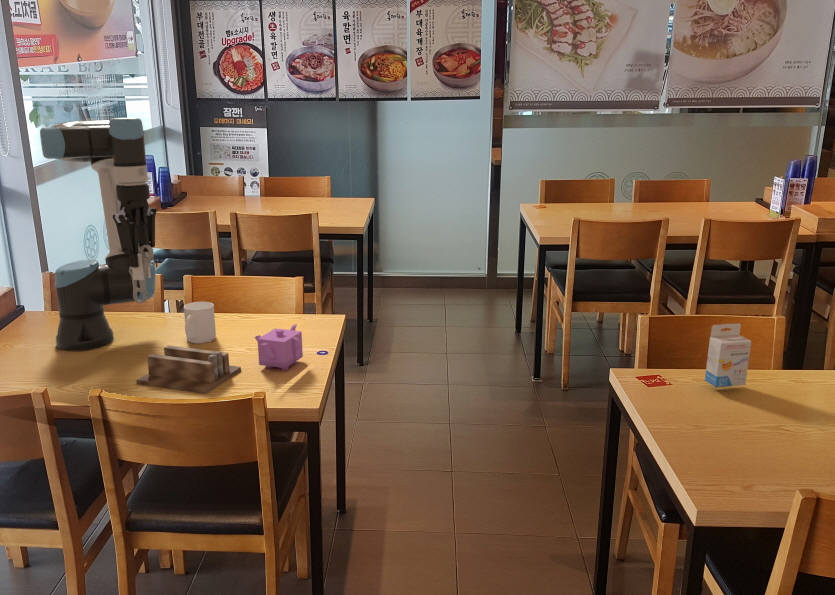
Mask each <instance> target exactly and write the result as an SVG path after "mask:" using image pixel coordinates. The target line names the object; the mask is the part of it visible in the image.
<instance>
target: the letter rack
mask: <svg viewBox="0 0 835 595" xmlns="http://www.w3.org/2000/svg"><path fill="white" fill-rule="evenodd" d="M163 352H164V355H161V354H154V353H151V354H149V355H147V356H146V358H147V359H146V360H147V369H148V372H147V373H146V374H144V375H142V376H140V377H138V378H137V379H136V380H135V381H136V382H135V384H138V385H143V386H144V385H145V386H152V387H156V388H157V387H158V388H165V389H171V390H178V391H185V392H193V393H197V394H198V393H199V394H207V393H209V392H211V391H212V390H214V389H215V388H217V387H218V386H220V385H221V384H223V383H224V382H226V381H227V380H229V379H230V378H232V377H233V376H235V375H237V374H238V373H239V372H241V371H242V368H241V366H238V365H237V366H236V365H230V358H229V352H224V351H223V352H222V351H215V350H208V349H207V350H206V349H202V348H201V349H199V348H191V347H182V346H175V345H166V346H164V347H163Z"/></svg>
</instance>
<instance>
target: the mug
mask: <svg viewBox="0 0 835 595" xmlns="http://www.w3.org/2000/svg"><path fill="white" fill-rule="evenodd" d="M183 311H184V314H183V315H184V332H185V336H186V337H185V338H186V340H187V341H188V343H191V344H195V345H196V344H197V345H198V344H199V345H200V344H207V343H211V342H213V341H214V340H215V339H216V338H217V336H216V335H217V333H216V332H217V330H216V320H215V306H214V303H212V302H209V301H195V302H189V303H186V304H184V305H183Z"/></svg>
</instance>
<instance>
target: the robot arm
mask: <svg viewBox="0 0 835 595" xmlns="http://www.w3.org/2000/svg"><path fill="white" fill-rule="evenodd" d="M39 136H40V145H41V152H42V156H43V157H44V158H45V159H54V160H61V161H66V162H72V163H73V162H74V163H88V162H90V166H91V169H93V171H95V172H96V173H97V175H98V181H99V189H100V195H101V201H102V207H103V209H102V210H103V214H104V216H103V217H104V221H105V229H106V235H107V242H108V248H109V253H107V255H106V256H105V258H104V261H105V264H100V263H99V261H98V260H96V259H81V260H76V261H72V262H68V263H65V264H62V265H61V266H59V267H57V269H56V270H55V271H54V288H55V289H56V290H55V292H56V298H57V299H56V300H57V306H58V314H59V322H58V326H57V327H58V328H57V334H56V336H55V342H56V343H55V344H56V347H57V348H58V349H59V350H62V351H69V352H70V351H71V352H79V351H80V352H83V351H89V350H94V349H97V348H98V349H99V348H103V347H105V346H107V345H110V344H111V343H113V342H114V340H115V339H114V332H113V330H112V328H111V326H110V325H109V321H108V320H107V317H106V315H105V310H104V309H105V308H104V306H109V305H118V304H123V303H133V302H136V301H135V300H134V298H133V283H132V276H131V274H130V272H129V267H130V266H131V267H132V272H133V280H137V287H138V288H140V283H139V280H144V273H143V263H144V261H143V260H142V254H139V249H140V247H141V246H144V245H149V246H151V247H152V249H153V250H154V248H155V246H156V215H157V212H158V210H157V208H156V207H150V205H149V202H148V200H150V198H151V196H150V195H151V193H150V185H149V184H148V183H146V182H148V181H149V178H148V176H149V175H148V167H147V166H148V164H147V158H146V156H147V154H146V146H145V130H144V126H143V121H142V119H140V118H139V117H112V118H110V119H109V120H82V121H81V120H79V121H78V120H76V121H74V120H72V121H65V122H62V123H57V124H53V125H51V126H47V127H46V126H45V127H42V128H40V129H39ZM143 252H144V254H145V256H146V257H149V251H148V249H147V248H144V250H143ZM145 279H146V290H147V291H146V292H148V297H147V300H151V299H152V298H153V297H154V294H155V290H156V265H155V260H154V259H153V261H151V262H150V264H149V267H148V269H147V271H146V277H145ZM144 293H145V292H144ZM142 294H143V293H141V292H139V291H138V293H137V296H138V299H139V300H141V301H142V300H143V295H142ZM147 300H146V301H147Z"/></svg>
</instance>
